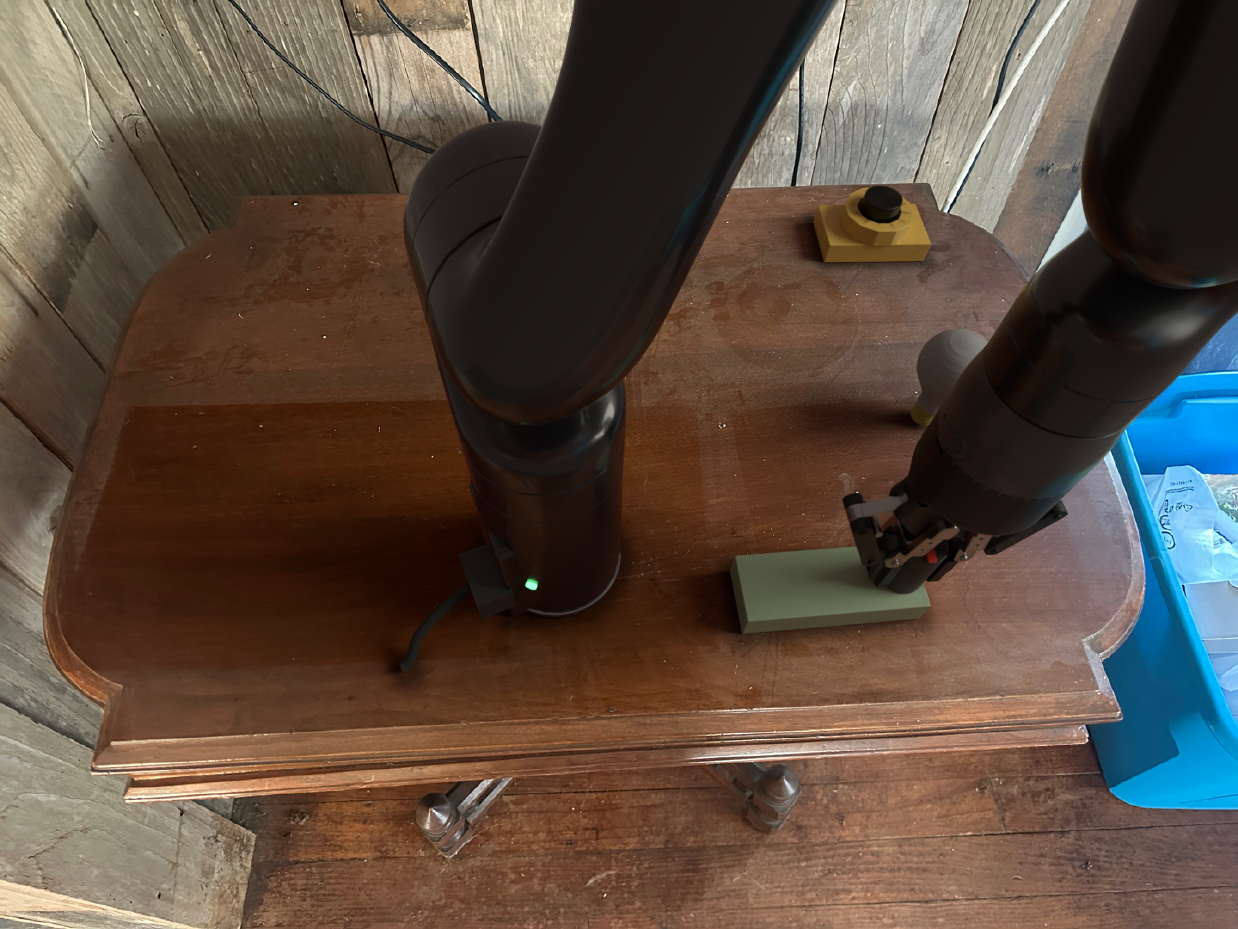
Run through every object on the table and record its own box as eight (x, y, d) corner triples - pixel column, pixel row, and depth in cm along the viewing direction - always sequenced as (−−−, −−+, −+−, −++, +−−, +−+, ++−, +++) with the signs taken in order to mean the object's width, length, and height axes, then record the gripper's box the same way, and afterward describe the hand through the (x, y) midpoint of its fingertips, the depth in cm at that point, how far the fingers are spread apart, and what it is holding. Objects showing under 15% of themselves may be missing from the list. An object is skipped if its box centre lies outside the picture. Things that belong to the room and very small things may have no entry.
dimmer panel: (741, 634, 53) (747, 621, 51) (729, 570, 56) (734, 555, 54) (918, 619, 54) (931, 606, 52) (898, 556, 57) (909, 541, 55)
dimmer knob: (874, 555, 54) (899, 520, 49) (916, 554, 54) (944, 519, 50) (884, 594, 52) (910, 561, 48) (926, 593, 52) (956, 561, 48)
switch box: (824, 264, 74) (835, 231, 71) (812, 220, 77) (822, 187, 74) (923, 263, 74) (939, 230, 71) (907, 219, 78) (921, 186, 74)
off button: (864, 224, 72) (869, 209, 70) (856, 200, 74) (861, 185, 72) (900, 224, 72) (907, 209, 70) (891, 199, 74) (897, 184, 72)
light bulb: (955, 451, 62) (1010, 374, 54) (888, 440, 63) (933, 361, 54) (952, 400, 65) (1005, 319, 57) (889, 390, 65) (931, 308, 57)
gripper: (1111, 366, 41) (977, 517, 55) (861, 384, 40) (792, 532, 54) (1180, 484, 37) (1016, 613, 51) (904, 507, 36) (817, 632, 50)
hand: (901, 571), depth 53 cm, fingers closed on dimmer knob, 3 cm apart
